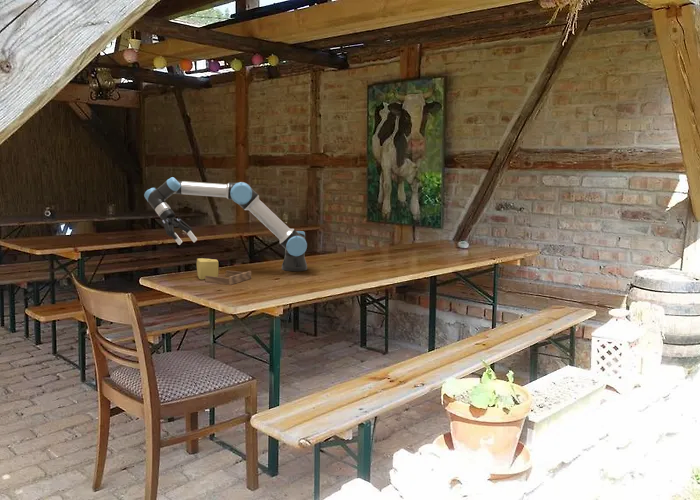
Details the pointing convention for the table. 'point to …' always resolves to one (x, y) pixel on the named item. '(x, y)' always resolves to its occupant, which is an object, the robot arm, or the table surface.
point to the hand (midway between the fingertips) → (188, 242)
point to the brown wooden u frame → (230, 277)
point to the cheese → (207, 268)
